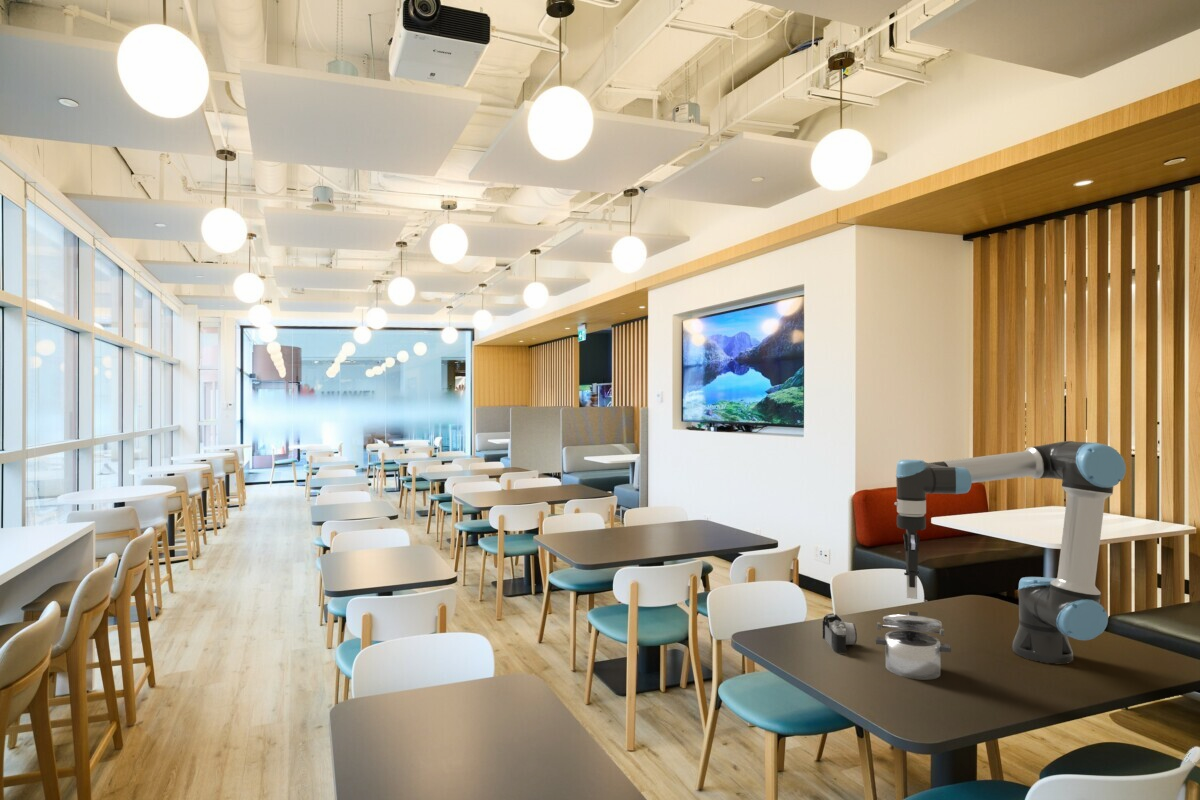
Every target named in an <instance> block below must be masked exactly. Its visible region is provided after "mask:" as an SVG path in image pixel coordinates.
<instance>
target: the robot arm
mask: <svg viewBox="0 0 1200 800" xmlns="http://www.w3.org/2000/svg"><path fill="white" fill-rule="evenodd" d="M1124 459H1125V458H1124V457H1123V456H1122V455H1121V454H1120V453H1119V451H1118V450H1117V449H1115V447H1112V446H1110V445H1107V444H1104V443H1098V442H1087V441H1085V442H1083V441H1073V440H1066V441H1058V442H1054V443H1048V444H1043V445H1036V446H1028V447H1027V448H1026V449H1025V450H1024V451H1015V452H1008V453H999V454H993V455H992V454H991V455H983V456H975V457H966V458H960V459H959V458H958V459H949V460H943V461H934V462H925V461H924V460H921V459H900V460H898V461H897V463H896V471H895V473H896V474H895V477H896V501H895V502H894V504H893V505H895V506H896V512H897V513H898V514H897V515H896V527H897V528H899V529H902V530H905V533H903V534H902V535H903V537H902V538H903V541H904V546H903V547H904V551H905V572H904V573H903V574H904V576H905V579H906V581H905V582H906V583H905V588H906V591H905V592H906V594H905V596H906V598H907V599H911V600H912V599H914V600H917V599H918V575H919V574H920V572H919V571H918V568H919V566H918V564H919V562H918V560H919V550H920V549H919V547H920V546H919V544H920V536H919V534H917V533H918V532H917V531H923V530H926V528H927V517H926V516H925V515H926V514H927V494H928V495H929V494H939V495H940V494H942V495H943V494H944V495H946V494H947V495H948V494H951V495H953V494H954V495H959V494H960V495H961V494H967V493H969V491H970V490H971V487H972V484H975V483H984V482H993V481H999V480H1000V481H1002V480H1008V479H1018V478H1019V479H1020V478H1027V477H1030V478H1032V479H1034V480H1037V479H1038V480H1039V479H1055V480H1062V482H1061V488H1062V489H1063V491H1064V492H1066V495H1067V496H1066V501H1065V503H1066V504H1065V510H1064V511H1065V513H1064V519H1063V528H1062V529H1063V530H1062V537H1061V544H1060V553H1059V561H1058V569H1057V570H1058V571H1057V577H1056V578H1055V577H1043V576H1042V577H1041V576H1025V577H1021V578H1020V580H1019V582H1018V589H1017V591H1018V619H1019V620H1018V621H1019V622H1018V628H1017V631H1016V633H1015V636H1014V638H1013V640H1012V652H1013V653H1014V654H1016V655H1018V656H1019V657H1021V658H1024V659H1026V660H1029V659H1030V661H1033V660H1034V661H1033V662H1037V661H1040V662H1039V663H1042V662H1047V663H1046V664H1049V663H1067V662H1071V661H1072V660H1073V661H1074V652H1073V649H1072V646H1071V643H1070V642H1069V638H1071V639H1074V640H1078V641H1090V640H1093V639H1096V638H1097V637H1098V636H1100V635H1102V634H1103V632H1105V630H1106V628H1107V626H1108V624H1109V623H1108V622H1109V617H1108V616H1109V615H1108V612H1107V610H1106V609H1105V607H1103V605H1102V604H1100V603H1101V594H1102V593H1101V591H1100V590H1099V589H1098V588H1097V586H1096V578H1097V570H1098V560H1099V553H1100V546H1101V545H1100V543H1101V537H1102V536H1101V535H1102V528H1103V520H1104V519H1103V518H1104V511H1105V502H1106V499H1107V498H1110V497H1111V496H1112V495H1113V494H1114V493H1113V492H1114V487H1115V486H1117V485H1119V483H1121V482H1122V481H1123V480H1124V478H1125V475H1126V470H1127V468H1126V467H1127V466H1126V462H1125V460H1124ZM1073 661H1072V662H1073ZM1072 662H1071V663H1072Z"/></svg>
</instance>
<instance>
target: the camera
mask: <svg viewBox="0 0 1200 800" xmlns="http://www.w3.org/2000/svg"><path fill="white" fill-rule="evenodd" d="M822 639H823V640H825V641H827V642H826V643H827V644H828V645H829V647H830V649H831V650H832V651H833V652H834V653H835V654H839V655H840V654H842V655H843V654H844V655H846V654H847V646H849V645H851V646H852V645H856V644H857V641H858V640H857V639H858V636H857V629H856V625H855V624H854V623H853V622H847V621H844V620H843V618H841V617H840V615H838V614H834V613H833V612H831V613H826V615H825V616H823V620H822Z"/></svg>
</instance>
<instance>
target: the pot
mask: <svg viewBox="0 0 1200 800" xmlns="http://www.w3.org/2000/svg"><path fill="white" fill-rule="evenodd" d="M876 627H877V630H881V629H882V623H881V622H879V621H877V622H876ZM939 635H940V636H941V637H945V629H944V628H939ZM875 644H876V645H882V646H885V647H884V648H885V668H886V669H887V671H889V672H890V673H893V674H894V675H897V676H900V677H903V678H906V679H912V680H923V681H924V680H927V681H928V680H934V679H938V678H939V677H941V652H944V653H952V648H951V645H950V643H949V644H948V643H941V641H940V639H939V638H937V637H936V636H933V635H931V634H929V633H926V632H920V631H911V630H901V629H895V630H891V631H888V632H887V633H885V635H884V637H883V636H875Z"/></svg>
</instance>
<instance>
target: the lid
mask: <svg viewBox="0 0 1200 800" xmlns="http://www.w3.org/2000/svg"><path fill="white" fill-rule="evenodd" d="M918 612H919V611H910V610H909V611H908V613H907V614H889V615H884V616H883V617H882V619H883V620H882V622H883V623H884V624H881V629H882V628H883V629H892V630H893V629H894V630H907V631H916V632H921V633H931V634H940V629H942V627H943V624H942V621H940V620H939V619H935V618H933V617H927V616H922V615H919V613H918ZM938 629H939V630H938Z"/></svg>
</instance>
